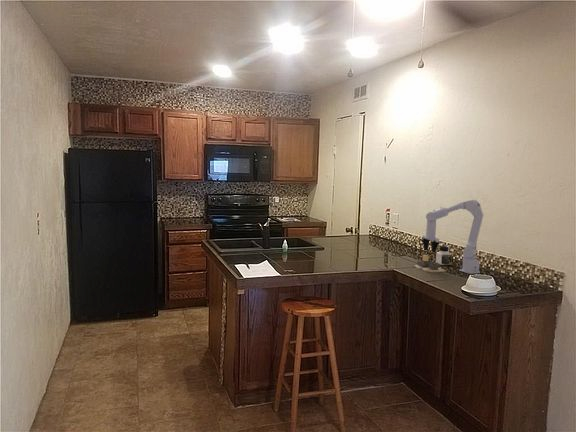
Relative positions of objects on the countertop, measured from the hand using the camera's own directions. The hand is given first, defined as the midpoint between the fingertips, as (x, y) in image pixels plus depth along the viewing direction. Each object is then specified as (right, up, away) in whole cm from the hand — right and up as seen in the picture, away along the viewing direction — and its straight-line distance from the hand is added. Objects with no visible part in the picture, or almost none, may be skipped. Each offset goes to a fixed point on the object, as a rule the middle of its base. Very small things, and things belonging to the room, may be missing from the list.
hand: (429, 251), depth 286 cm
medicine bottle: (+12, -9, +9) cm, 17 cm away
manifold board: (-3, -10, -8) cm, 14 cm away
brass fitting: (-4, -9, -5) cm, 11 cm away
